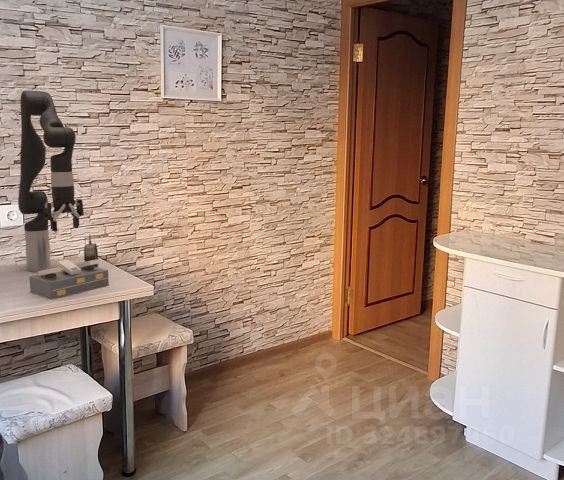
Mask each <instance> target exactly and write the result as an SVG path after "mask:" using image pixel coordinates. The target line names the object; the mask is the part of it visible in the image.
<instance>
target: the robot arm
mask: <svg viewBox="0 0 564 480" xmlns="http://www.w3.org/2000/svg"><path fill="white" fill-rule="evenodd" d="M32 116H34V117H35V116H36V117H39V125H40V127H41V129H42V131H43V136H42V137H43V140H42V138H41V137H40V135H39V134H38V133H37V131H36V130H35V128H34V126H33V124H32V123H33V122H32ZM20 120H21V121H20V122H21V135H20V137H21V139H20V153H19V154H20V177H19V178H20V179H19V188H18V189H19V190H18V196H17V197H18V199H17V200H18V201H17V205H18V210H19V212H20V214H22V215H33V214H37V215H36V216H35V217H34V218H33V219H31V220H29V221H26V222H25V223H24V225H23V226H24V239H25V257H26V259H25V260H26V269H27V271H28V272H33V273H34V272H35V273H36V272H37V273H38V271H42V270H47V269H50V268H52V265H51V264H52V261H51V249H50V235H49V234H50V233H49V222H50V230H51V231H52V232H58V221H57V219H58V217H60V215H61V214H66V213H67V214H70V215H71V216H72V228H73V229H78V228H79V227H80V217H81V216H84V214H85V212H84V204H83V199H80V198H76V199H75V183H74V174H73V162H72V161H73V153H74V147H75V144H76V141H77V140H76V139H77V137H76V133H75V131H74V129H73V128H71V127H67V126H64V123H63V121H61V119H60V118H59V116H58V113H57V109H56V106H55V103H54V100H53V98H52V96H51V94H50V93H48V92H47V91H37V90H23V91H22V92H21V94H20ZM46 147H48V148H52V149H54V148H55V149H58V148H64V149H63V151H62V152H60V153H57V154H53V155H52V156H50V159H49V160H50V172H51V173H50V184H51V186H50V187H51V197H52V202H49V200H48V196H47V193H46V192H45V191H43V190H37V191H36V190H35V191H33V190H32V191H31V188H32V186H33V182H34V181H35V180H36V179H37V177H38V175H39V174H40V173H41V172H42V170H43V169H44V167H45V164H46V154H47V153H46V151H47V150H46Z"/></svg>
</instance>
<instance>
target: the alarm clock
mask: <svg viewBox="0 0 564 480" xmlns="http://www.w3.org/2000/svg"><path fill="white" fill-rule="evenodd" d="M88 234H89V235H88V236H89V239H88V240H89V241H88V242H89V243H86V244H85V245H84V248H83V260H84V262H87V261H90V260H95V259H96V260H97V259H99V254H98V252H99V251H98V246H97V244H96V243H95V242H94V243H92V240H91V233H88ZM99 265H100V264H94V265H93V266H94V267H98V268H99Z"/></svg>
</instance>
